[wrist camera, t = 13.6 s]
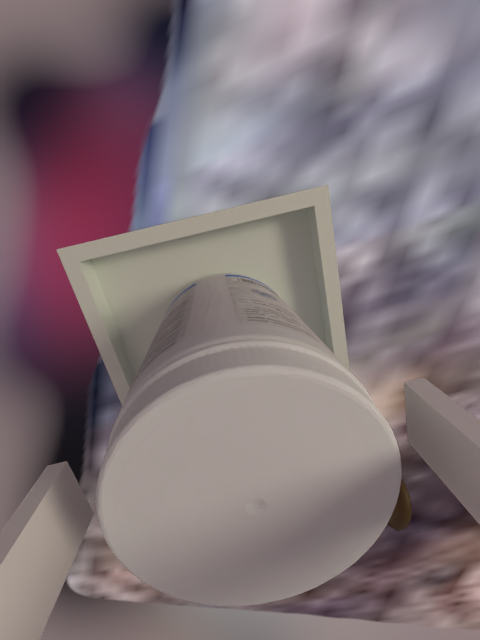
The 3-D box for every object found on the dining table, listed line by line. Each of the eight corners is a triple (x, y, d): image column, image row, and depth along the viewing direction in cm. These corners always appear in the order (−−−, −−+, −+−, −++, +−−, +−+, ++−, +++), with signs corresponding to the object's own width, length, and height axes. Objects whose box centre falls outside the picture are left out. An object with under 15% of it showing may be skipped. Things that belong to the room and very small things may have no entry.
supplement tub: (193, 404, 25) (167, 647, 11) (140, 298, 21) (6, 446, 8) (306, 363, 24) (431, 558, 10) (269, 249, 21) (377, 309, 7)
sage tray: (341, 395, 26) (354, 412, 24) (152, 441, 26) (146, 463, 24) (315, 188, 21) (328, 184, 18) (74, 246, 21) (56, 249, 18)
